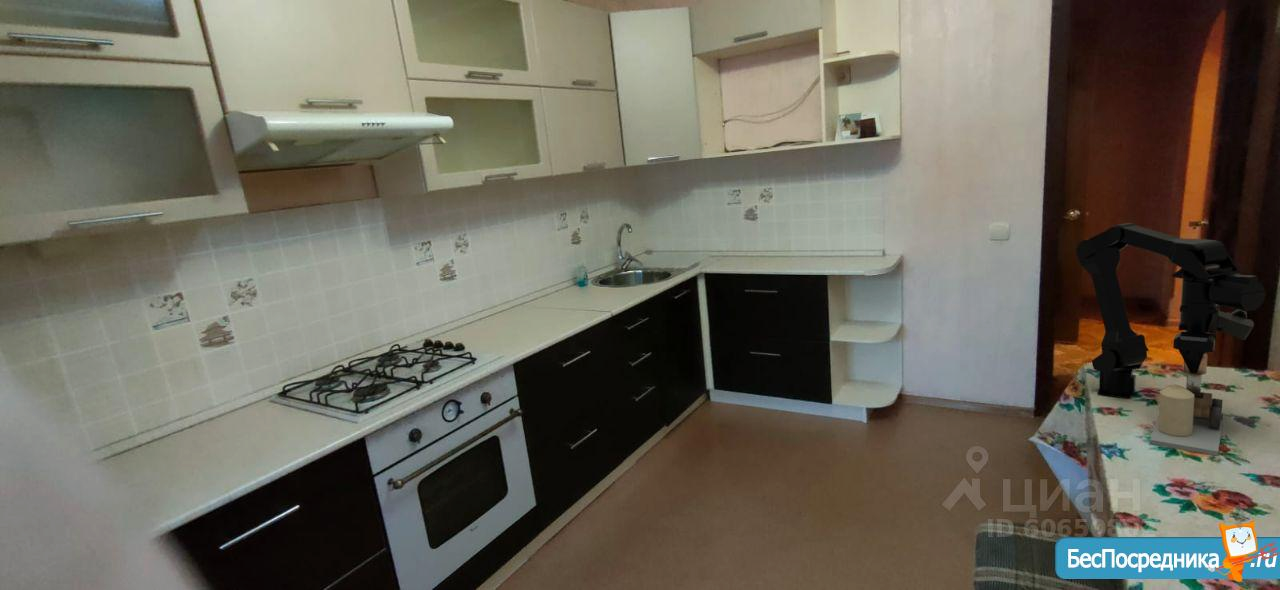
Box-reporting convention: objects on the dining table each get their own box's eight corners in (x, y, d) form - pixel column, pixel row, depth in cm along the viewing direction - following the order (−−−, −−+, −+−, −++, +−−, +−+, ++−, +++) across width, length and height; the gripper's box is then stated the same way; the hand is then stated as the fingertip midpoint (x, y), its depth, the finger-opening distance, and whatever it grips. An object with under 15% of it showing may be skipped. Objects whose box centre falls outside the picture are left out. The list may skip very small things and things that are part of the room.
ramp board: (1149, 444, 131) (1150, 435, 130) (1160, 412, 143) (1160, 404, 143) (1217, 456, 123) (1218, 446, 123) (1222, 422, 136) (1223, 413, 135)
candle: (1197, 437, 129) (1200, 392, 127) (1164, 436, 131) (1167, 391, 129) (1184, 425, 134) (1187, 382, 132) (1153, 425, 136) (1155, 382, 134)
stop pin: (1180, 394, 136) (1183, 355, 135) (1182, 388, 139) (1184, 350, 137) (1204, 397, 134) (1206, 357, 132) (1205, 391, 136) (1208, 352, 134)
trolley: (1160, 422, 137) (1161, 400, 136) (1165, 407, 143) (1166, 385, 142) (1219, 432, 130) (1220, 408, 129) (1221, 415, 137) (1223, 392, 135)
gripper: (1251, 315, 120) (1244, 391, 123) (1253, 292, 133) (1247, 362, 136) (1175, 310, 128) (1171, 382, 131) (1184, 289, 141) (1180, 355, 144)
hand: (1194, 370), depth 135 cm, fingers closed on stop pin, 4 cm apart
